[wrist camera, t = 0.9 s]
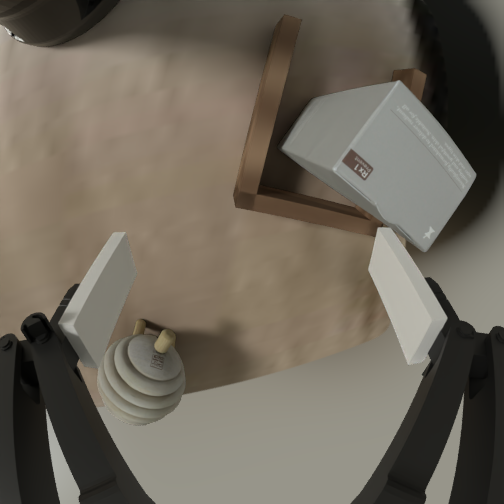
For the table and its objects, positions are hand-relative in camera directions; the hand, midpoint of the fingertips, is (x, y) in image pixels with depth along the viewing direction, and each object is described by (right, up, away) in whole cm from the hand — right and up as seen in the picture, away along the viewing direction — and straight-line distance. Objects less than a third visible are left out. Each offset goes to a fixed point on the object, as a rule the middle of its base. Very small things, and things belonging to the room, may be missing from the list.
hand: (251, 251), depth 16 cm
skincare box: (+7, +10, +13) cm, 18 cm away
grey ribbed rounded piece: (-13, -12, +22) cm, 28 cm away
